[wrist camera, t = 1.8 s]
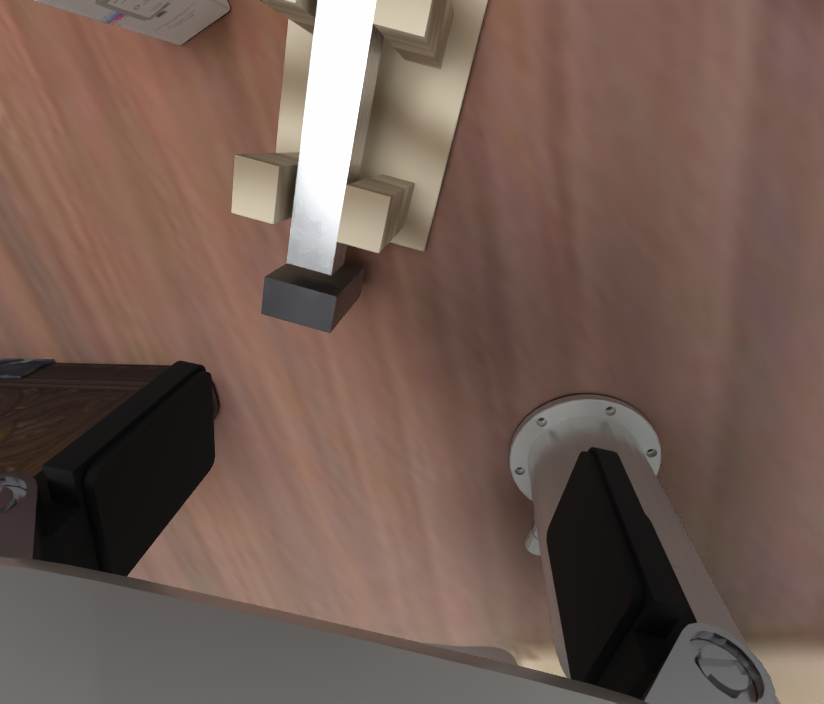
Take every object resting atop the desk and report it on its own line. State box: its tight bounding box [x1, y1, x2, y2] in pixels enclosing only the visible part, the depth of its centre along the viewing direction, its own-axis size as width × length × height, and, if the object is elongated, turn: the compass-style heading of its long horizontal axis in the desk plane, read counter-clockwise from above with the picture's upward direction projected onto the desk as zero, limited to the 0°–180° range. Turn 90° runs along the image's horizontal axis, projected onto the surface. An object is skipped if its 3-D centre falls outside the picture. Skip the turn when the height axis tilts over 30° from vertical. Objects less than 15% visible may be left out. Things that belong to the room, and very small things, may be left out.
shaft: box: [261, 0, 384, 333], centre depth 26 cm, size 23×4×8 cm, turn 166°
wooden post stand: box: [231, 0, 489, 253], centre depth 26 cm, size 16×12×10 cm
